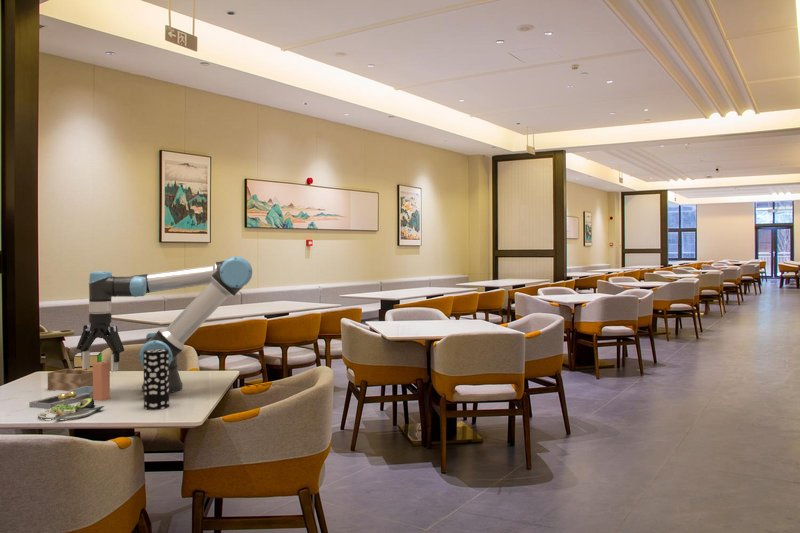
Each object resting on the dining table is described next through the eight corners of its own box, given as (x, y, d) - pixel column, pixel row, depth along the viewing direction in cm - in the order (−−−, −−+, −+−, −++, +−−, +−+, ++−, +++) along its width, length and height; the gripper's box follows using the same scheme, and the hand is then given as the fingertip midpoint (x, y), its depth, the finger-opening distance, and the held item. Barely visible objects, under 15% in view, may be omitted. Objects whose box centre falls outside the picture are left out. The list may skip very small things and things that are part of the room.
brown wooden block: (97, 388, 254) (97, 371, 254) (79, 392, 246) (79, 375, 246) (66, 385, 260) (66, 368, 260) (47, 389, 251) (47, 372, 251)
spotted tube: (161, 403, 227) (160, 348, 227) (173, 406, 222) (173, 350, 222) (139, 407, 221) (138, 351, 221) (151, 411, 216) (151, 353, 215)
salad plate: (80, 424, 201) (80, 409, 201) (25, 424, 201) (25, 409, 201) (109, 409, 220) (109, 396, 220) (58, 409, 220) (58, 396, 220)
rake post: (109, 399, 234) (109, 362, 233) (101, 402, 230) (101, 363, 230) (101, 398, 235) (101, 361, 235) (93, 401, 231) (92, 363, 231)
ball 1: (69, 401, 229) (69, 392, 229) (62, 403, 226) (62, 394, 226) (63, 400, 230) (63, 392, 230) (55, 402, 227) (55, 393, 227)
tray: (106, 395, 241) (106, 387, 241) (90, 399, 234) (89, 391, 234) (86, 393, 245) (86, 386, 244) (69, 397, 237) (69, 390, 237)
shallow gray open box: (90, 399, 234) (90, 394, 234) (50, 410, 218) (50, 404, 218) (69, 397, 237) (69, 392, 237) (29, 408, 221) (29, 402, 221)
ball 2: (78, 399, 233) (78, 390, 233) (71, 400, 230) (71, 392, 230) (72, 398, 234) (72, 389, 234) (65, 400, 231) (65, 391, 231)
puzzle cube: (77, 374, 284) (77, 352, 284) (102, 373, 287) (101, 351, 287) (73, 378, 275) (73, 356, 275) (98, 377, 278) (98, 355, 278)
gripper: (134, 313, 231) (134, 370, 232) (82, 310, 240) (82, 366, 240) (119, 314, 224) (119, 373, 224) (66, 312, 233) (66, 369, 233)
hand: (100, 370), depth 232 cm, fingers open, 13 cm apart
